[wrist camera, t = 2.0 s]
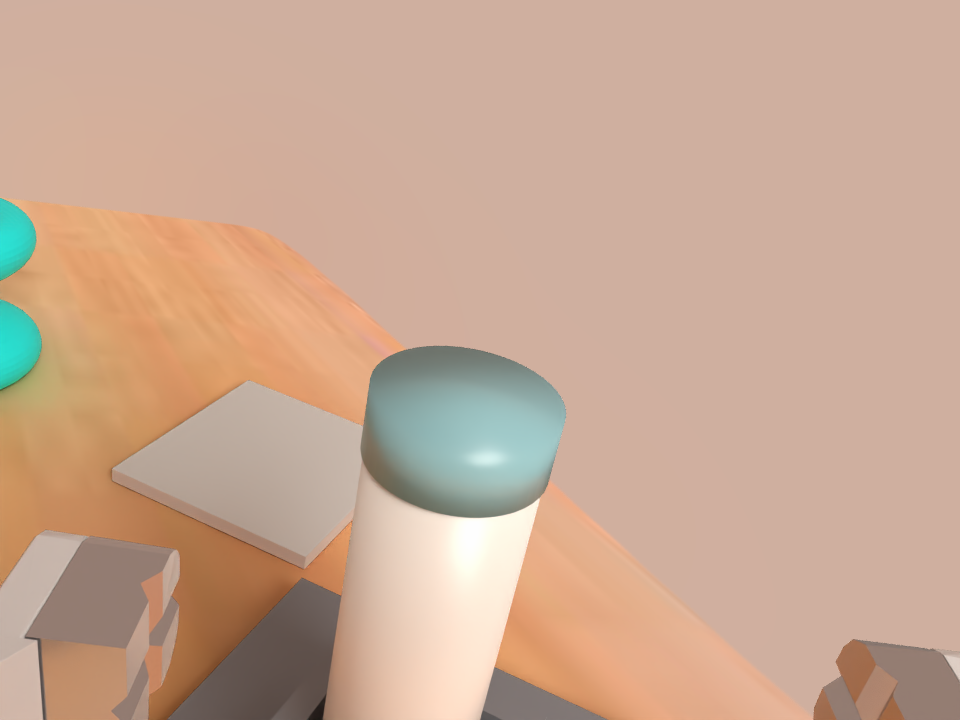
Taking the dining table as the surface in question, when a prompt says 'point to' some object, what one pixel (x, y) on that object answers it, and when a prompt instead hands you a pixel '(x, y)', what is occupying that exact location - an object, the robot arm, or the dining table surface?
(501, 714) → the grey square peg base
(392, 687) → the cylinder
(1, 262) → the donuts
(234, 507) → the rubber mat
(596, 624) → the dining table surface
